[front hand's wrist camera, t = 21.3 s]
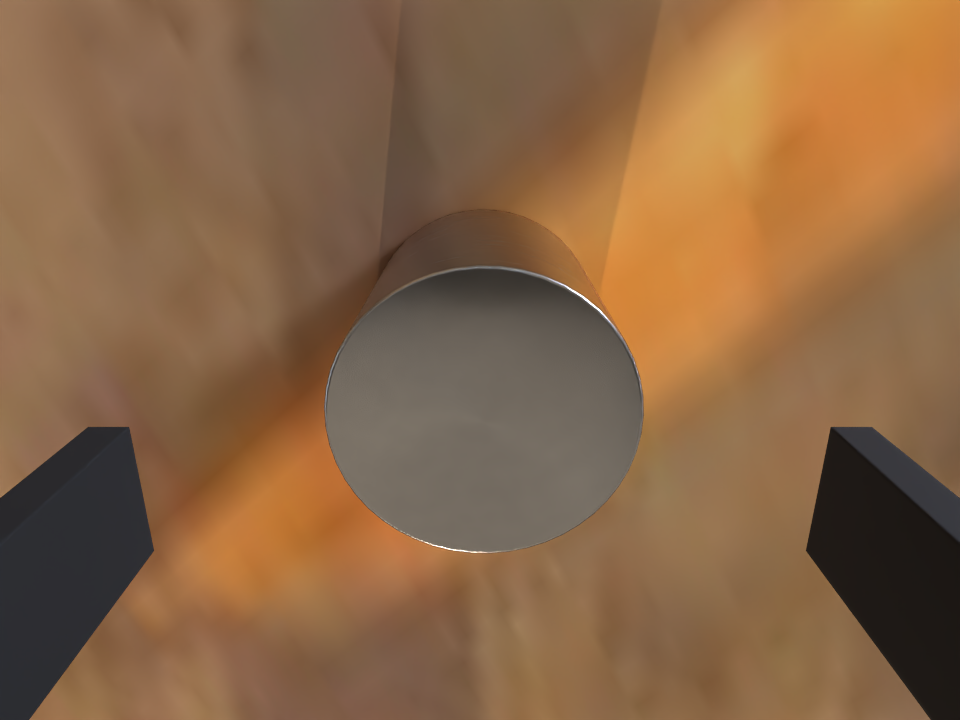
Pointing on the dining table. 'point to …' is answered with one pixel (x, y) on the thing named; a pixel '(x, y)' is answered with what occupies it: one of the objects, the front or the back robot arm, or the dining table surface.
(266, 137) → the dining table surface
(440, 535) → the can
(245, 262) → the dining table surface
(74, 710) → the dining table surface
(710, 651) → the dining table surface
